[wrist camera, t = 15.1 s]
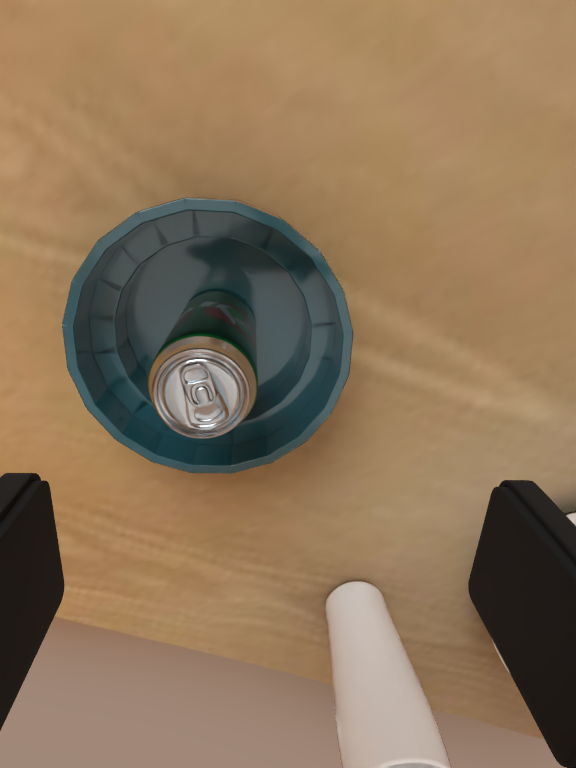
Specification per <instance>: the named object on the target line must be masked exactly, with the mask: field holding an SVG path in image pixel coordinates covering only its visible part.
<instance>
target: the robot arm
mask: <svg viewBox="0 0 576 768" xmlns="http://www.w3.org/2000/svg"><path fill="white" fill-rule="evenodd" d="M63 593H64V578H63V571H62V565H61V558H60V552H59V545H58V538H57V532H56V525H55V519H54V512H53V505H52V499H51V492H50V487H49V483H48V482H47V481H41V479H40V477H39V475H38V474H36V473H6V474H4V475H3V476H1V478H0V730H1V728H2V726H3V724H4V722H5V720H6V718H7V715H8V713H9V711H10V709H11V707H12V705H13V703H14V701H15V698H16V696H17V694H18V692H19V690H20V688H21V686H22V683H23V682H24V679H25V677H26V675H27V673H28V671H29V669H30V667H31V665H32V663H33V660H34V658H35V656H36V654H37V652H38V650H39V648H40V645H41V643H42V641H43V639H44V637H45V635H46V633H47V631H48V629H49V626H50V624H51V622H52V620H53V618H54V616H55V614H56V612H57V610H58V607H59V605H60V603H61V601H62V597H63ZM469 594H470V597H471V600H472V602H473V604H474V606H475V608H476V609H477V611H478V613H479V615H480V617H481V619H482V621H483V623H484V625H485V627H486V628H487V630H488V632H489V634H490V636H491V638H492V640H493V642H494V644H495V646H496V647H497V649H498V651H499V653H500V655H501V657H502V659H503V661H504V663H505V665H506V666H507V668H508V670H509V672H510V674H511V676H512V678H513V680H514V682H515V683H516V685H517V687H518V689H519V691H520V693H521V695H522V697H523V699H524V701H525V702H526V704H527V706H528V708H529V710H530V712H531V714H532V716H533V718H534V720H535V721H536V723H537V725H538V727H539V729H540V731H541V733H542V735H543V737H544V739H545V740H546V742H547V744H548V746H549V748H550V750H551V752H552V754H553V755H554V757H555V759H556V760H557V762H559V764H560V765H562V766H564V767H567V768H576V525H575V524H574V523H573V522H572V521H571V520H570V519H569V518H568V517H567V516H566V515H565V514H564V513H563V512H562V511H561V510H560V509H559V508H558V507H557V506H556V505H555V503H554V502H553V501H552V500H551V499H550V498H549V497H548V496H547V495H546V494H545V493H544V492H543V491H542V490H541V489H540V488H539V487H538V486H537V485H536V484H535V483H534V482H533V481H526V480H505V481H502V483H501V484H500V485H499V487H495V488H494V489H493V491H492V493H491V497H490V501H489V505H488V509H487V513H486V516H485V520H484V524H483V528H482V532H481V536H480V540H479V544H478V548H477V551H476V555H475V559H474V563H473V567H472V571H471V575H470V579H469Z"/></svg>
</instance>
